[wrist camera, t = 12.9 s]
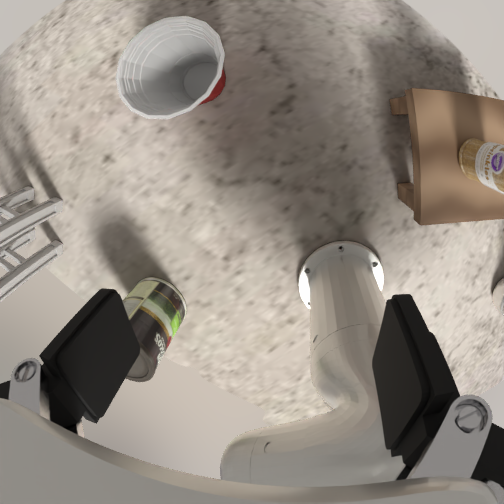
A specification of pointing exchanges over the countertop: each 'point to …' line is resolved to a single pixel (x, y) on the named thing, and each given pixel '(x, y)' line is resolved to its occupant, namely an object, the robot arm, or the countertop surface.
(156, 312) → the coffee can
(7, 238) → the stool
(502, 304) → the plastic bottle
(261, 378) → the countertop surface
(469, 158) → the sprinkles bottle
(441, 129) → the walnut stool
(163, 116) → the plastic cup
